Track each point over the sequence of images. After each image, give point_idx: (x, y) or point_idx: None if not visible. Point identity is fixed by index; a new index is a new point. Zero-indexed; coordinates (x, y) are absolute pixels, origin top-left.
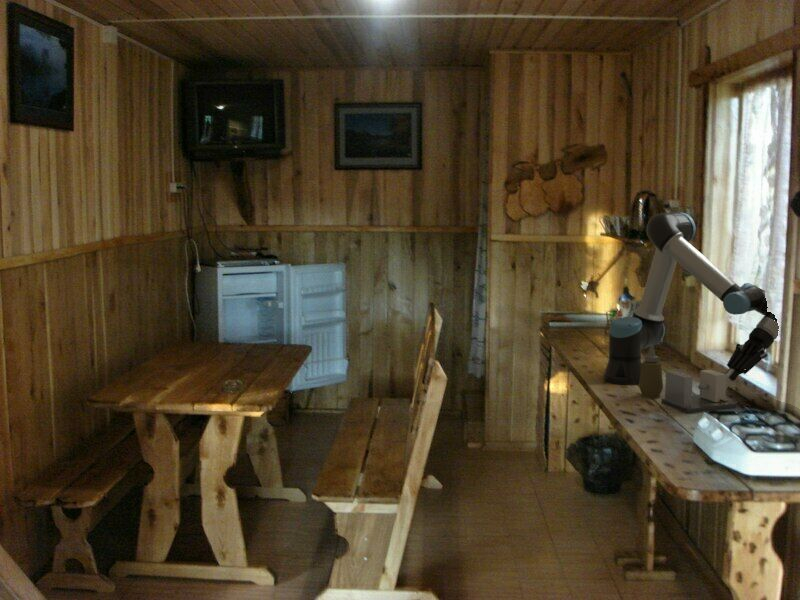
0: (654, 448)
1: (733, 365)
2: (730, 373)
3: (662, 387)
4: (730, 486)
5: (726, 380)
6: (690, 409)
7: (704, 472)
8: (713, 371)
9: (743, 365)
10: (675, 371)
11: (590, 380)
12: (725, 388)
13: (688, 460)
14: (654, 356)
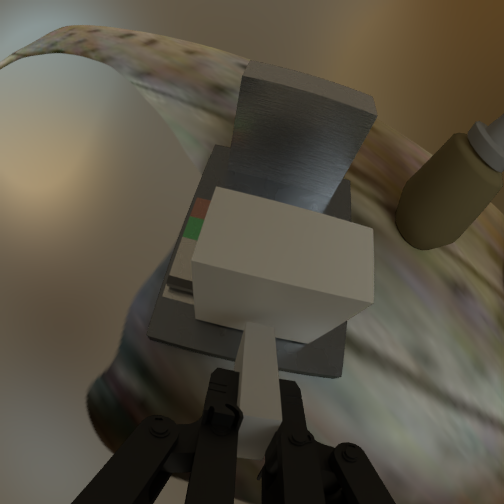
0: (132, 36)
1: (284, 456)
2: (240, 380)
3: (415, 222)
4: (29, 46)
5: (241, 353)
6: (212, 153)
7: (56, 42)
8: (320, 273)
9: (149, 459)
10: (358, 106)
11: None
12: (194, 296)
13: (80, 43)
14: (487, 133)
